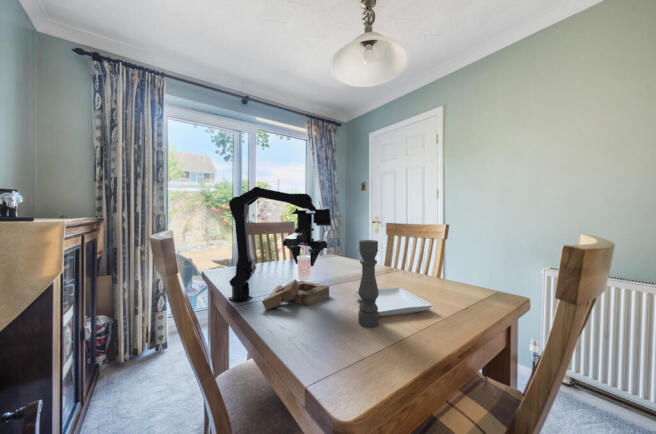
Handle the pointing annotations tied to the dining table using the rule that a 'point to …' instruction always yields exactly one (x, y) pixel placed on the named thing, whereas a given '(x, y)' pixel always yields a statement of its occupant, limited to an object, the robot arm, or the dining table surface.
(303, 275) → the beverage cup
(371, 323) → the candle holder
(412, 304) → the salad plate
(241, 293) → the robot arm
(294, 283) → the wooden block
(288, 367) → the dining table surface
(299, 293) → the holder block
